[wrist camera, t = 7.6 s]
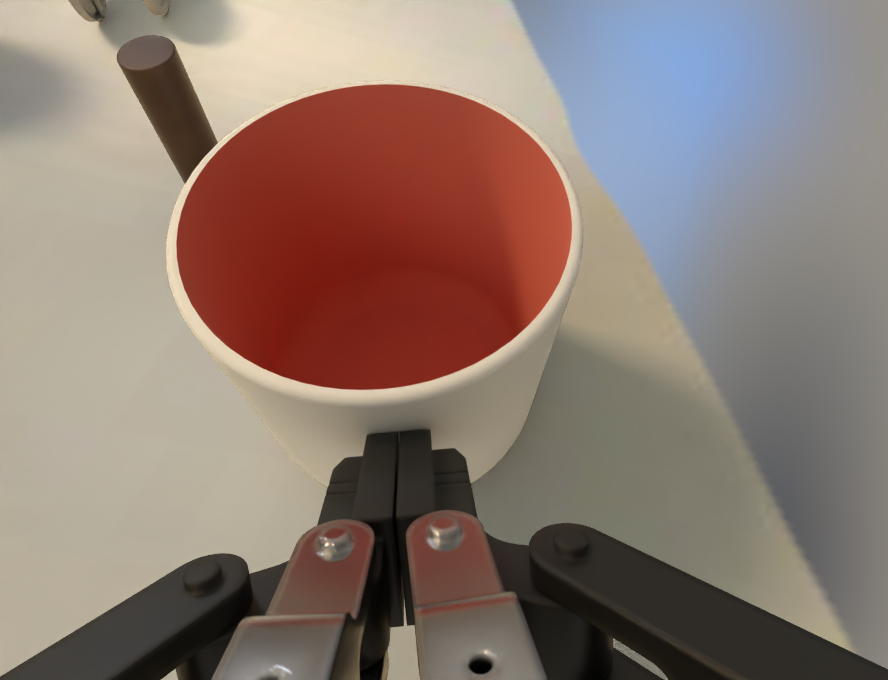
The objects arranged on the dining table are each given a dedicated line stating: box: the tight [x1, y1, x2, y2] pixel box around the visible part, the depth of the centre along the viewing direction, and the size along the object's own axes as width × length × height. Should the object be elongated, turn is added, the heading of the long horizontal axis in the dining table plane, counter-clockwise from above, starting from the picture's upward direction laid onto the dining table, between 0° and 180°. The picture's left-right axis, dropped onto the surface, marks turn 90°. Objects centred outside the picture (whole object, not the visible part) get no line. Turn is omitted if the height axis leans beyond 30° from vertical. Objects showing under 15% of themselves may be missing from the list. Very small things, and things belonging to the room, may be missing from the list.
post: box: [117, 35, 218, 184], centre depth 23 cm, size 2×2×8 cm
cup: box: [166, 81, 583, 487], centre depth 18 cm, size 10×10×10 cm
